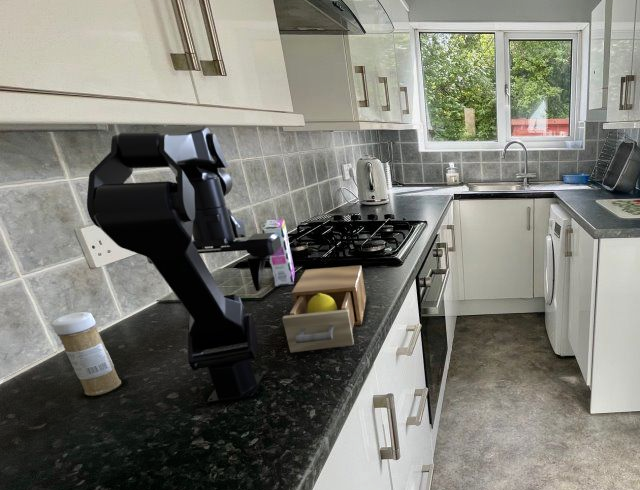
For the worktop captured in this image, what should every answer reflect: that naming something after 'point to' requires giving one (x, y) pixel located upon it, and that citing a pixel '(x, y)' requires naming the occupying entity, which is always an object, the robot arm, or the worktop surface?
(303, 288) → the cabinet
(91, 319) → the sprinkles bottle
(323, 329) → the drawer
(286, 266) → the candy bar box
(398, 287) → the worktop surface
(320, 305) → the lemon
